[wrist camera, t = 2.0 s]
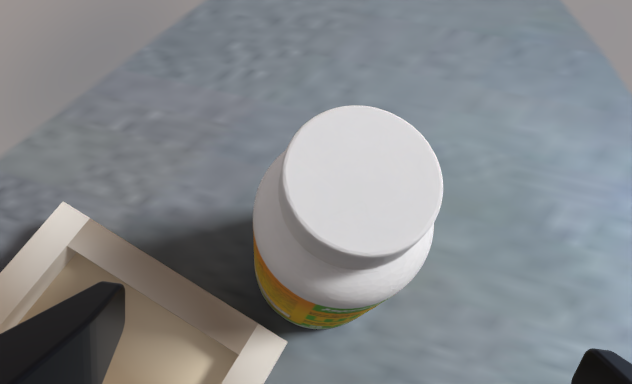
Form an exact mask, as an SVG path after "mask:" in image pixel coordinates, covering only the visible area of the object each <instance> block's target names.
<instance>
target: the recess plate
mask: <svg viewBox="0 0 632 384" xmlns="http://www.w3.org/2000/svg"><path fill="white" fill-rule="evenodd" d="M101 281H107V282H114V283H121V284H122V285H123V286H124V287H125V325H124V329H123V332H122V335H121V338H120V340H119V343H118V345H117V348H116V350H115V353H114V355H113V358H112V360H111V363H110V365H109V368H108V370H107V373H106V375H105V378H104V380H103V383H102V384H264V382H265V380H266V379H267V377H268V375H269V374H270V372H271V370H272V368H273V367H274V365H275V363H276V362H277V360H278V358H279V356H280V355H281V353H282V351H283V349H284V348H285V346H286V344H287V343H288V342H287V341H285V340H284V339H282V338H280V337H279V336H277V335H276V334H274V333H273V332H271V331H269V330H268V329H266V328H265V327H263V326H261V325H260V324H258V323H257V322H255V321H253V320H252V319H250V318H249V317H247V316H245V315H244V314H242V313H241V312H239V311H237V310H236V309H234V308H233V307H231V306H229V305H228V304H226V303H225V302H223V301H221V300H220V299H218V298H217V297H215V296H213V295H212V294H210V293H209V292H207V291H205V290H204V289H202V288H201V287H199V286H197V285H196V284H194V283H193V282H191V281H189V280H188V279H186V278H185V277H183V276H181V275H180V274H178V273H177V272H175V271H173V270H172V269H170V268H169V267H167V266H165V265H164V264H162V263H161V262H159V261H157V260H156V259H154V258H153V257H151V256H149V255H148V254H146V253H145V252H143V251H141V250H140V249H138V248H137V247H135V246H133V245H132V244H130V243H129V242H127V241H126V240H124V239H122V238H121V237H119V236H118V235H116V234H114V233H113V232H111V231H110V230H108V229H106V228H105V227H103V226H102V225H100V224H98V223H97V222H95V221H94V220H92V219H90V218H89V217H87V216H86V215H84V214H82V213H81V212H79V211H78V210H76V209H74V208H73V207H71V206H70V205H68V204H66V203H65V202H62V203H61V204H60V205H59V207H58V208H57V209H56V210H55V211H54V212H53V213H52V215H51V216H50V217H49V218H48V219H47V220H46V221H45V223H44V224H43V225H42V226H41V227H40V228H39V229H38V231H37V232H36V233H35V234H34V235H33V236H32V237H31V239H30V240H29V241H28V242H27V243H26V244H25V245H24V247H23V248H22V249H21V250H20V251H19V252H18V253H17V255H16V256H15V257H14V258H13V259H12V260H11V261H10V263H9V264H8V265H7V266H6V267H5V268H4V269H3V271H2V272H1V273H0V334H1V333H3V332H5V331H6V330H8V329H10V328H12V327H14V326H16V325H18V324H20V323H22V322H24V321H26V320H28V319H29V318H31V317H33V316H35V315H37V314H39V313H41V312H43V311H45V310H47V309H49V308H50V307H52V306H54V305H56V304H58V303H60V302H62V301H64V300H66V299H68V298H70V297H71V296H73V295H75V294H77V293H79V292H81V291H83V290H85V289H87V288H89V287H91V286H92V285H94V284H96V283H98V282H101Z"/></svg>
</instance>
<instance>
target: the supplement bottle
mask: <svg viewBox="0 0 632 384" xmlns="http://www.w3.org/2000/svg"><path fill="white" fill-rule="evenodd" d="M442 196H443V180H442V173H441V169H440V165H439V162H438V160H437V158H436V155H435V153H434V152H433V150H432V148H431V146H430V145H429V143H428V142H427V141H426V139H425V138H424V137H423V136H422V135H421V134H420V133H419V132H418V131H417V130H416V129H415V128H414V127H413V126H412V125H410V124H409V123H408V122H406V121H405V120H403V119H402V118H400V117H398V116H396V115H394V114H392V113H390V112H387V111H385V110H381V109H378V108H374V107H368V106H343V107H338V108H334V109H331V110H328V111H325V112H323V113H321V114H319V115H317V116H315V117H314V118H312V119H310V120H309V121H308V122H307V123H305V124H304V125H303V126H302V127H301V128H300V129H299V130H298V131H297V133H296V134H295V135H294V136H293V138H292V140H291V142H290V143H289V145H288V147H287V149H286V150H285V151H284V152H283V153H282V154H281V155H280V156H278V157H277V159H276V160H275V161H274V162H273V163H272V164H271V166H270V167H269V168H268V170H267V171H266V173H265V175H264V177H263V178H262V180H261V183H260V185H259V188H258V190H257V194H256V198H255V203H254V210H253V238H254V267H255V274H256V279H257V282H258V285H259V288H260V290H261V293H262V295H263V296H264V298H265V300H266V301H267V303H268V304H269V305H270V306H271V307H272V309H273V310H274V311H276V312H277V313H278V314H279V315H280V316H282V317H283V318H284V319H286V320H288V321H289V322H291V323H293V324H296V325H298V326H301V327H305V328H310V329H329V328H335V327H338V326H341V325H344V324H346V323H349V322H351V321H353V320H354V319H356V318H358V317H359V316H361V315H363V314H364V313H366V312H367V311H369V310H371V309H373V308H374V307H376V306H377V305H379V304H380V303H382V302H384V301H385V300H387V299H388V298H390V297H392V296H394V295H395V294H396V293H397V292H398V291H400V290H401V289H402V288H403V287H405V286H406V285H407V284H408V283H409V282H410V281H411V280H412V279H413V278H414V276H415V275H416V274H417V273H418V271H419V270H420V268H421V267H422V265H423V263H424V262H425V259H426V257H427V255H428V252H429V250H430V247H431V243H432V238H433V230H434V221H435V220H436V217H437V215H438V213H439V210H440V207H441V202H442Z"/></svg>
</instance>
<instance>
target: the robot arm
mask: <svg viewBox="0 0 632 384" xmlns="http://www.w3.org/2000/svg"><path fill="white" fill-rule="evenodd" d="M124 325H125V287H124V286H123V285H122V284H121V283H114V282H107V281H101V282H98V283H96V284H94V285H92V286H91V287H89V288H87V289H85V290H83V291H81V292H79V293H77V294H75V295H73V296H71V297H70V298H68V299H66V300H64V301H62V302H60V303H58V304H56V305H54V306H52V307H50V308H49V309H47V310H45V311H43V312H41V313H39V314H37V315H35V316H33V317H31V318H29V319H28V320H26V321H24V322H22V323H20V324H18V325H16V326H14V327H12V328H10V329H8V330H6V331H5V332H3V333H1V334H0V384H102V383H103V380H104V378H105V375H106V373H107V370H108V368H109V365H110V363H111V360H112V358H113V355H114V353H115V350H116V348H117V345H118V343H119V340H120V338H121V335H122V332H123V329H124ZM571 384H632V364H631V363H629V362H628V361H626V360H625V359H623V358H622V357H620V356H619V355H617V354H616V353H614V352H612V351H608V350H601V349H589V350H588V351H586V352H585V354H584V356H583V358H582V360H581V362H580V364H579V366H578V368H577V370H576V372H575V374H574V376H573V378H572V382H571Z"/></svg>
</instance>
